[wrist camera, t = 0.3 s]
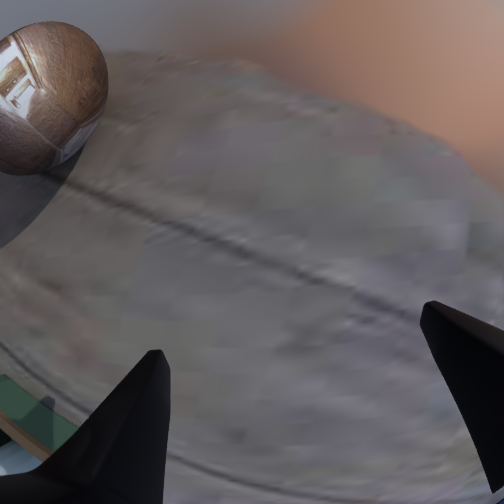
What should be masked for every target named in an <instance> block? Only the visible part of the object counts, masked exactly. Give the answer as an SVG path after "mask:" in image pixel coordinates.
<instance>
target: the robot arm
mask: <svg viewBox="0 0 504 504" xmlns="http://www.w3.org/2000/svg"><path fill="white" fill-rule="evenodd" d="M420 327H421V329H422V332H423V334H424V336H425V338H426V341H427V343H428V346H429V348H430V350H431V353H432V355H433V358H434V360H435V362H436V364H437V366H438V368H439V370H440V372H441V374H442V375H443V377H444V379H445V381H446V383H447V385H448V387H449V389H450V391H451V393H452V395H453V398H454V400H455V402H456V404H457V406H458V408H459V410H460V412H461V415H462V417H463V419H464V421H465V424H466V426H467V428H468V430H469V433H470V435H471V438H472V440H473V442H474V445H475V447H476V449H477V453H478V455H479V458H480V460H481V463H482V466H483V468H484V471H485V474H486V477H487V480H488V483H489V486H490V489H491V491H492V493H495V492H496V491H498V490H499V489H500V488H502V487H503V486H504V331H503V330H501V329H499V328H497V327H494V326H492V325H490V324H488V323H485V322H483V321H481V320H479V319H476V318H474V317H472V316H470V315H467V314H465V313H463V312H460V311H458V310H456V309H454V308H451V307H449V306H447V305H444V304H442V303H440V302H437V301H430V302H427V303H425V304H424V306H423V310H422V315H421V319H420ZM169 422H170V367H169V364H168V362H167V360H166V358H165V355H164V353H163V351H162V350H160V349H158V350H150V351H148V352H147V353H146V354H145V355H144V357H143V358H142V359H141V360H140V361H139V362H138V363H137V364H136V365H135V366H134V368H133V369H132V370H131V371H130V372H129V373H128V374H127V375H126V376H125V378H124V379H123V380H122V381H121V382H120V383H119V384H118V385H117V386H116V387H115V389H114V390H113V391H112V392H111V393H110V394H109V395H108V396H107V397H106V399H105V400H104V401H103V402H102V403H101V404H100V405H99V406H98V408H97V409H96V410H95V411H94V412H93V413H92V414H91V415H90V416H89V419H87V420H86V421H85V422H84V423H83V424H82V425H81V426H80V427H79V428H78V430H77V431H76V432H75V433H74V434H73V435H72V436H71V437H70V438H69V439H68V440H67V441H66V442H65V443H64V444H62V445H61V446H60V447H59V448H58V449H57V450H56V451H55V452H54V453H53V454H51V455H50V456H49V457H48V458H47V459H46V460H45V461H44V462H43V463H41V464H40V465H39V466H38V467H36V468H35V469H33V470H31V471H28V472H24V473H18V474H10V475H2V476H0V504H163V489H164V475H165V463H166V451H167V441H168V431H169Z"/></svg>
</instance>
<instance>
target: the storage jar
mask: <svg viewBox="0 0 504 504" xmlns="http://www.w3.org/2000/svg"><path fill="white" fill-rule="evenodd" d="M41 463H43V462H42V461H40V460H39V459H37V458H36V457H35V456H33V455H32V454H31V453H29V452H28V451H27V450H26V449H24V448H23V447H22V446H21V445H19V444H18V443H17V442H16V441H14V440H13V441H11V442H9V443H7V444H5V445H3V446H2V447H0V476H2V475H10V474H18V473H24V472H28V471H31V470H33V469H35V468H36V467H38V466H39V465H40V464H41Z"/></svg>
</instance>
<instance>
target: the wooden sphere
mask: <svg viewBox="0 0 504 504" xmlns="http://www.w3.org/2000/svg"><path fill="white" fill-rule="evenodd" d="M107 93H108V72H107V66H106V62H105V59H104V56H103V54H102V52H101V50H100V48H99V47H98V45H97V44H96V42H94V40H93V39H92V38H91V37H90V36H89V35H88V34H86V33H85V32H84V31H83V30H81V29H79V28H77V27H75V26H73V25H70V24H67V23H62V22H54V21H52V22H51V21H49V22H40V23H34V24H31V25H28V26H25V27H23V28H20V29H18V30H16V31H14V32H12V33H11V34H9V35H8V36H7V37H5V38H3V39H2V40H1V41H0V172H3V173H6V174H11V175H33V174H38V173H42V172H45V171H47V170H50V169H52V168H54V167H56V166H58V165H60V164H61V163H63V162H64V161H66V160H67V159H69V158H70V157H71V156H72V155H74V154H75V153H76V152H77V151H78V150H79V149H80V148H81V147H82V146H83V145H84V144H85V142H86V141H87V140H88V139H89V137H90V136H91V134H92V133H93V131H94V130H95V128H96V126H97V124H98V122H99V120H100V118H101V116H102V113H103V110H104V107H105V103H106V99H107Z"/></svg>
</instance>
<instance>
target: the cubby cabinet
mask: <svg viewBox="0 0 504 504" xmlns="http://www.w3.org/2000/svg"><path fill="white" fill-rule="evenodd" d="M78 428H79V427H77V426H76V425H74V424H72V423H71V422H69V421H68V420H66V419H64V418H63V417H61V416H60V415H58V414H57V413H55V412H54V411H52V410H51V409H49V408H48V407H47V406H45V405H44V404H42V403H41V402H39V401H38V400H37V399H35V398H34V397H33V396H31V395H30V394H29V393H27V392H26V391H25V390H23V389H22V388H21V387H20V386H18V385H17V384H16V383H15V382H13V381H12V380H11V379H10V378H9V377H7V376H6V375H5V374H4V375H0V447H2V446H3V445H5V444H7V443H9V442H11V438H12V439H13V440H14V441H16V442H17V443H18V444H19V445H21V446H22V447H23V448H24V449H26V450H27V451H28V452H29V453H31V454H32V455H33V456H35V457H36V458H37V459H39V460H40V461H42V462H44V461H45V460H46V459H47V458H48V457H49V456H50V455H51V454H53V453H54V452H55V451H56V450H57V449H58V448H59V447H60V446H61V445H62V444H64V443H65V442H66V441H67V440H68V439H69V438H70V437H71V436H72V435H73V434H74V433H75V432H76V431H77V430H78Z"/></svg>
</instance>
